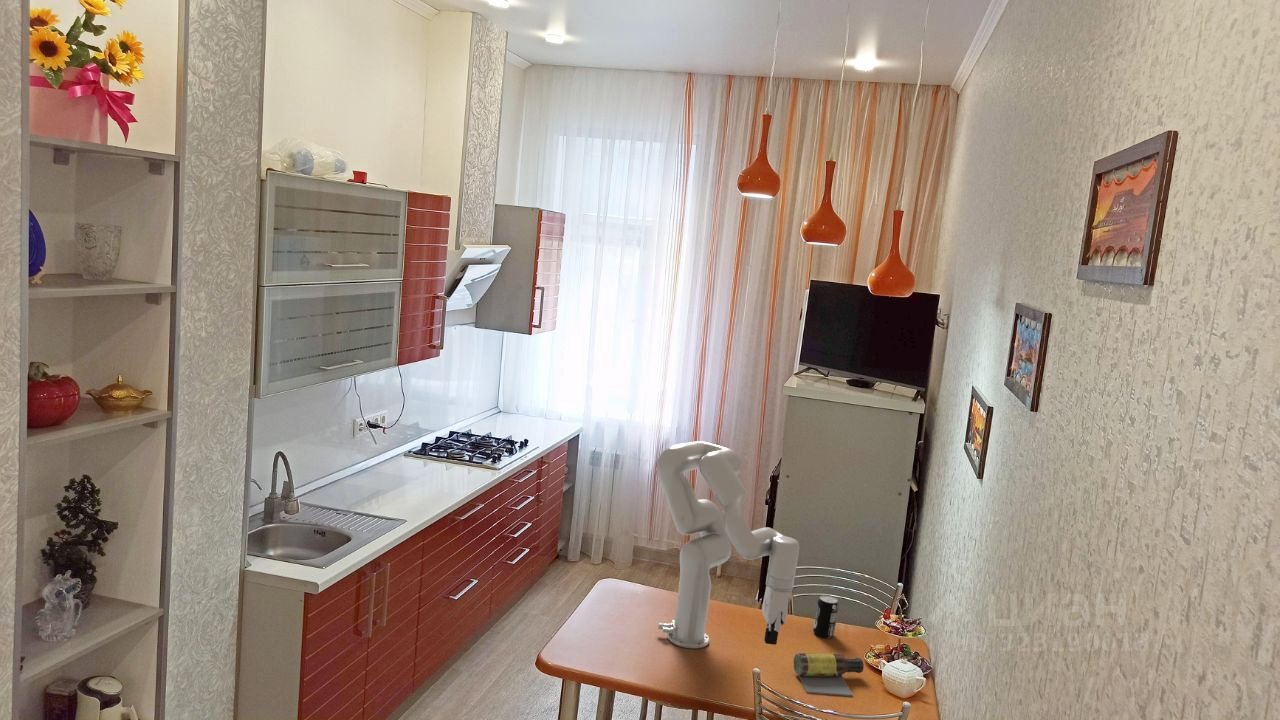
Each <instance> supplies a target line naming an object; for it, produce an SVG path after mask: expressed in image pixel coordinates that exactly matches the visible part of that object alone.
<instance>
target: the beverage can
mask: <svg viewBox="0 0 1280 720" xmlns="http://www.w3.org/2000/svg"><path fill="white" fill-rule="evenodd" d="M838 601H839V600H838V598H836V597H835V596H832V595H828V594H827V595H825V594H823V595H820V596H819V599H818V600H817V602H816V603H817V604H816V610H815V616H814V624H813V633H814V634H815V636H817V637H819V638H823V639H830V638H832V637H834V636H835V631H836V624H837V619H838V611H839V602H838Z"/></svg>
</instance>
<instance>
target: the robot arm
mask: <svg viewBox="0 0 1280 720" xmlns="http://www.w3.org/2000/svg"><path fill="white" fill-rule="evenodd" d="M742 464H743V463H742V460H741V456H740V455H739V454H738V453H737V452H736V451H734V450H733V449H731V448H728V447H724V446H720V445H717V444H713V443H710V442H707V441H701V440H695V441H689V442H682V443H676V444H673V445H670V446H668V447H666V448H665V449H664V450H663V451H662V452H661V453H660V454H659V457H658V459H657V463H656V473H657V476H658V477H657V478H658V479H659V482H660V485H661V487H662V489H663V492H664V493H665V497H666V501H667V504H668V507H669V511H670V513H671V517H672V520H673V522H674V525H675V528H676V530H677V532H678V533H679V534H681V535H683V536H691V535H696V534H698V533H699V537H696V538H693V539H690V540H688V541H687V542H685V543H684V544H683V545H682V547H681V549H680V551H679V567H680V571H679V580H678V581H679V583H678V591H677V598H676V599H677V600H676V604H675V605H676V607H675V613H674V614H675V615H674V619H672V621H671V622H668V623H665V622H658V623H657V629H658V630H661V631H662V633H664V634H665V633H667V634H666V637H667V639H668V640H669V641H670V643H671V644H674V645H676V646H679V647H680V648H681V647H682V648H686V649H701V648H704V647H706V646H708V645H709V642H710V637H709V635H708V634H707V633H706V627H707V626H706V625H707V618H708V611H709V606H710V605H709V604H710V597H711V589H712V582H711V581H712V579H711V576H710V575H711V574H710V569H712V568H715V567H717V566H720V565H723V564H724V563H726V562H727V561H728V560H729V559H730V557H731V551H732V547H731V544H732V546H733V547H734V549H735V551H736V552H737V553H738V554H739V555H740V556H741V557H742V558H743V559H745V560H750V561H754V560H757V559H759V558H762V557H767V556H769V559H768V560H769V562H768V567H767V572H766V574H767V575H766V578H765V579H766V581H765V585H766V586H765V592H764V596H763V602H762V604H761V605H762V606H761V612H762V615H763V617H764V619H765V621H766V628H765V633H764V643H765V644H766V645H777V643H778V642H777V641H778V636H779V632H780V630H781V626H784V625H785V624H786V621H787V616H788V609H789V600H790V592H791V591H793V589H794V583H795V576H796V572H797V571H796V570H797V564H798V560H799V551H800V543H799V541H798V540H797V539H796V538H793V537H789V536H787V535H784V534H782V533H780V532H779V531H777V530H775V529H774V528H771V527H768V526H767V527H765V526H764V527H761V528H758V529H757V528H756V529H754V530H751V529H750V527H749V526H748V524H747V522H746V520H745V519H744V518H745V517H744V514H743V505H744V502H745V501H746V499H747V497H748V494H749V493H748V491H747V489H746V488H745V486H744V484H743V483H742V481H741V480H740V478H739V476H738V474H740V473H741V471H742V467H743V465H742ZM694 470H699V472H700V474H701V475H702V477H703V478H704V479H703V480H705V482H706V483H707V485H708V487H709V488H710V490H711V491H712V493H713V494H714V496H715V498H716V499H717V502H718V503H719V504H720V506H721V508H722V514H721V510H719V508H718V506H717V505H716V503H715V502H714V501H711V500H710V499H706V498H701V499H697V497H696V493H695V491H694V488H693V485H692V483H691V482H690V480H689V479H688V478H687V477H686V476H685V475H684V474H685V473H686V472H690V471H691V472H692V471H694Z"/></svg>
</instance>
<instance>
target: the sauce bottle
mask: <svg viewBox="0 0 1280 720" xmlns="http://www.w3.org/2000/svg"><path fill="white" fill-rule="evenodd" d="M793 668H794V671H795V673H796V674H797V675H803V676H840V675H842V676H843V675H844V674H846V673H857V674H861V673H863V672H864V661H863V659H862V658H860V657H854V658H848V657H845V656H843V655H842V654H840V653H831V652H830V653H829V652H827V653H826V652H825V653H824V652H802V653H801V652H798V653H797V652H796V653H795V654H794V657H793Z"/></svg>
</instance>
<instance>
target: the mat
mask: <svg viewBox="0 0 1280 720" xmlns="http://www.w3.org/2000/svg"><path fill="white" fill-rule="evenodd" d="M797 675H798V674H797ZM798 678H799V680H800V682H801V684H802V686H803V689H804V691H805V693H806V694H813V695H817V694H818V695H826V694H827V695H828V696H829V695H830V696H840V697H853V696H854V694H853V692H852V691H851V689H850V687H849V685H848V683H847V682H846V680H845V679H844V677H843V675H840V676H803V675H798Z"/></svg>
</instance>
